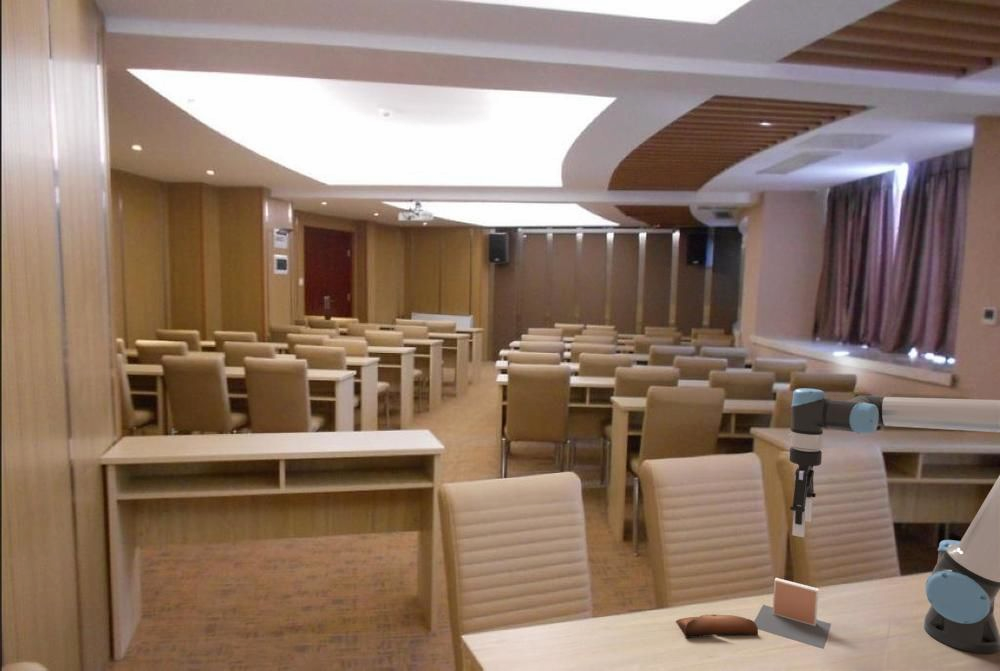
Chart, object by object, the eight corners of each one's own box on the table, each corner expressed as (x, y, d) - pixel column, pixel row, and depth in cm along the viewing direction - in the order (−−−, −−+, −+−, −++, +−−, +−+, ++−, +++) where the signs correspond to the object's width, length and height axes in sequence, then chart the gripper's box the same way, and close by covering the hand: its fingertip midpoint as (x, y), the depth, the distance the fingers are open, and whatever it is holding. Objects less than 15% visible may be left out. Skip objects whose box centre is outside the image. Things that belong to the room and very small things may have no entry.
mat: (830, 626, 160) (830, 623, 160) (823, 651, 148) (823, 648, 148) (763, 606, 168) (763, 604, 168) (751, 629, 157) (751, 626, 157)
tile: (816, 623, 159) (818, 588, 159) (815, 626, 158) (817, 591, 157) (773, 611, 165) (775, 577, 164) (772, 614, 163) (774, 580, 163)
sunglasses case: (741, 619, 161) (749, 603, 158) (752, 645, 156) (760, 630, 152) (672, 620, 160) (679, 605, 156) (681, 647, 154) (687, 632, 150)
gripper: (797, 438, 179) (793, 512, 180) (782, 455, 158) (778, 539, 159) (827, 441, 175) (823, 517, 176) (815, 459, 154) (811, 546, 155)
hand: (802, 528), depth 167 cm, fingers open, 13 cm apart
